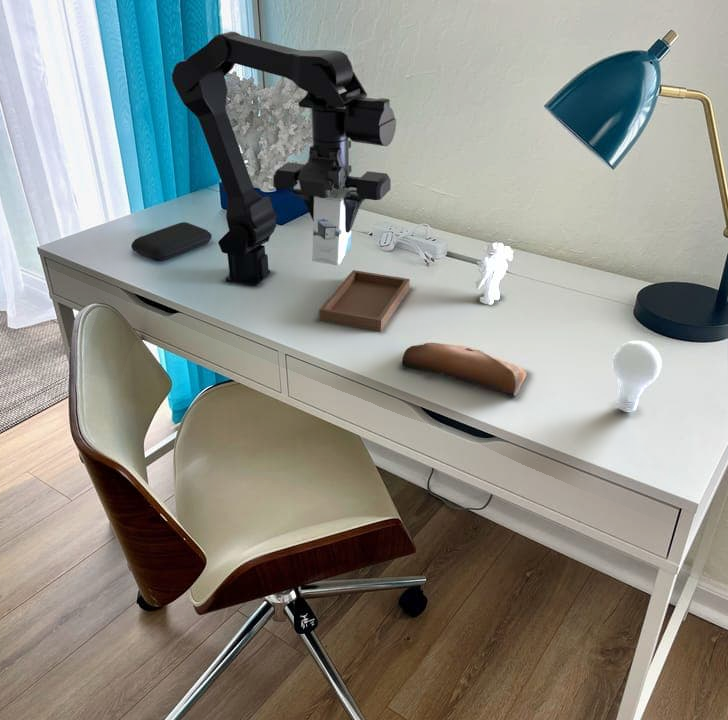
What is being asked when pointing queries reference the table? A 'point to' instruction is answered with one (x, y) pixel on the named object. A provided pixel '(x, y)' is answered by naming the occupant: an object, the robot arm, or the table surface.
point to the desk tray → (365, 300)
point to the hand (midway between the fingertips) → (333, 229)
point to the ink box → (330, 228)
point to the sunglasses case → (466, 366)
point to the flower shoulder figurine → (493, 270)
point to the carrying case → (171, 241)
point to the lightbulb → (634, 371)
